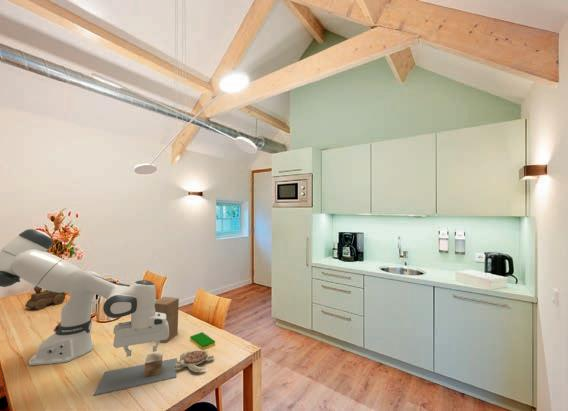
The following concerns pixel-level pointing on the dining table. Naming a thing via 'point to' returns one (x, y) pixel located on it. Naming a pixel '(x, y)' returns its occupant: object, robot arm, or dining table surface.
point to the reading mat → (133, 377)
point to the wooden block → (169, 314)
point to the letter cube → (153, 364)
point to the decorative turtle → (193, 360)
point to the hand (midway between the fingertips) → (142, 353)
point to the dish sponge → (202, 341)
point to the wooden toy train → (44, 298)
